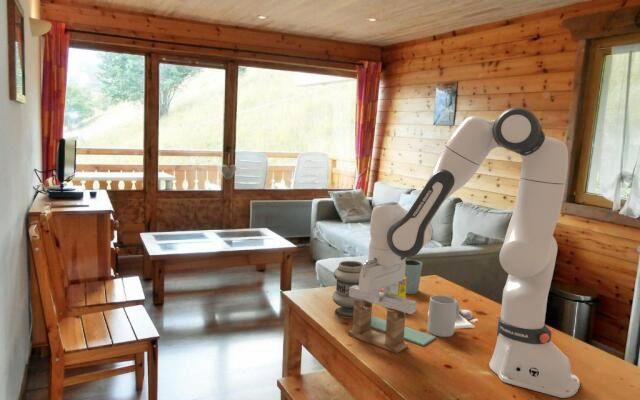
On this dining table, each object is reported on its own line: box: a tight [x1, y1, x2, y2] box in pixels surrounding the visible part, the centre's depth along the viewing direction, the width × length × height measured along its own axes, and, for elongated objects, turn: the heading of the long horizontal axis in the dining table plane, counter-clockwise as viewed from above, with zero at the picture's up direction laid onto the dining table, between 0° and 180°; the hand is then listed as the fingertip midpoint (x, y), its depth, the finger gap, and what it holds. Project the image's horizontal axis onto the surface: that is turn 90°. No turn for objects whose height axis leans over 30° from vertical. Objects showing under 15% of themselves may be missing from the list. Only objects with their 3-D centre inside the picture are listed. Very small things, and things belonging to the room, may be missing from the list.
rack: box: [347, 300, 409, 354], centre depth 149 cm, size 18×6×11 cm, turn 50°
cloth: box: [427, 308, 479, 330], centre depth 173 cm, size 22×19×6 cm
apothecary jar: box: [331, 260, 364, 319], centre depth 170 cm, size 12×12×18 cm
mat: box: [371, 315, 436, 347], centre depth 158 cm, size 24×8×1 cm, turn 50°
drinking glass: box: [404, 258, 423, 295], centre depth 200 cm, size 10×10×12 cm
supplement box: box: [389, 277, 407, 299], centre depth 181 cm, size 6×6×11 cm
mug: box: [426, 294, 461, 338], centre depth 160 cm, size 12×8×11 cm
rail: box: [349, 285, 417, 315], centre depth 148 cm, size 22×3×3 cm, turn 50°
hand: (381, 300), depth 148 cm, fingers closed on rail, 3 cm apart
